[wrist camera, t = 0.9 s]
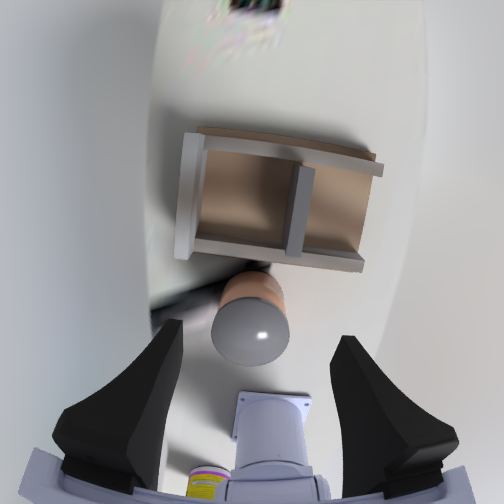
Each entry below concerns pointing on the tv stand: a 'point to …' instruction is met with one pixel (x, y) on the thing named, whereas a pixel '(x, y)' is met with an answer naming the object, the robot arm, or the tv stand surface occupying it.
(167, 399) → the robot arm
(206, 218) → the tray
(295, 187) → the pusher plate
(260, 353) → the jar
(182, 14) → the tv stand surface
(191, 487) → the supplement bottle
